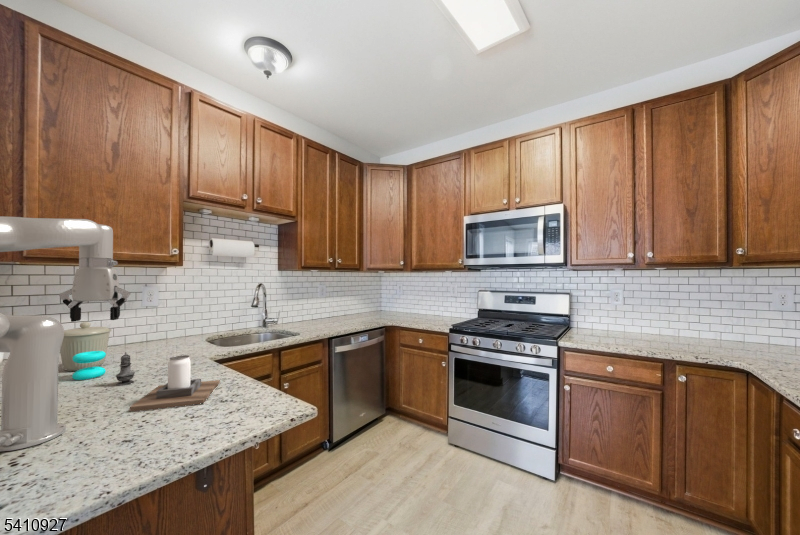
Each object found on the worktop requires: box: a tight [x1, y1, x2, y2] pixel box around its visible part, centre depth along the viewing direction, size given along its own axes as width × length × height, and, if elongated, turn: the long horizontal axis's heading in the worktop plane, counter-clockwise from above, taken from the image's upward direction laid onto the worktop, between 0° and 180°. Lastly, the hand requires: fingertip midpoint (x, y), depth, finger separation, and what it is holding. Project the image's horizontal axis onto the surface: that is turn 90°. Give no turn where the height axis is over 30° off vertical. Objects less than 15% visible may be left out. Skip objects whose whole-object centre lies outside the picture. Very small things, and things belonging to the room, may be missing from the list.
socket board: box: [129, 378, 221, 413], centre depth 110 cm, size 20×20×4 cm
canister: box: [59, 321, 112, 372], centre depth 146 cm, size 18×18×21 cm
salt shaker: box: [115, 352, 136, 387], centre depth 124 cm, size 6×6×12 cm
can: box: [167, 354, 192, 389], centre depth 110 cm, size 6×6×12 cm
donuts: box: [71, 351, 107, 381], centre depth 132 cm, size 10×10×10 cm
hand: (95, 320), depth 98 cm, fingers open, 9 cm apart
